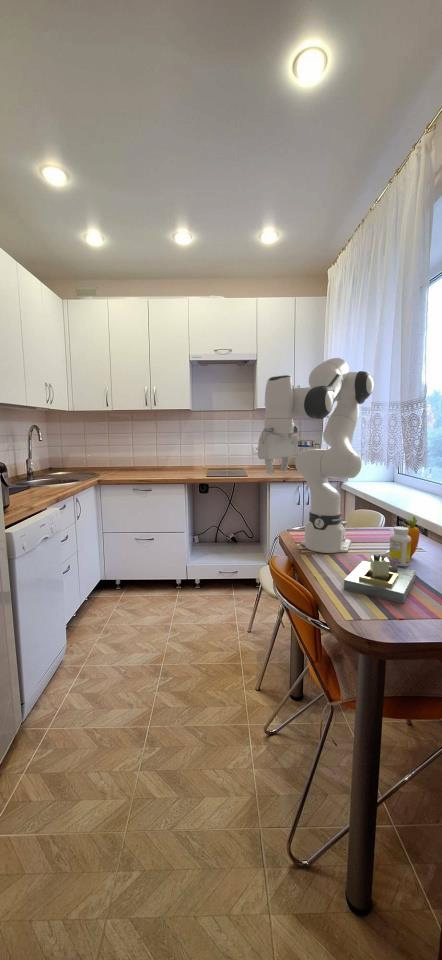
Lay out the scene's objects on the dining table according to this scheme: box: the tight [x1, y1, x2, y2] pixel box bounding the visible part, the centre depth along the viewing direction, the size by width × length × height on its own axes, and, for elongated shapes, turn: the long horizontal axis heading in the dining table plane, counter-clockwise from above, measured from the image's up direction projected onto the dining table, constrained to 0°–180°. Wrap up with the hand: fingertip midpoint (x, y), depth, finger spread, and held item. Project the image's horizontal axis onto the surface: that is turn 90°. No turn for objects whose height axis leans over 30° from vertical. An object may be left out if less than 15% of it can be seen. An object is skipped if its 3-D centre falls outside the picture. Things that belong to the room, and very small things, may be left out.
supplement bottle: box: [388, 526, 411, 567], centre depth 133 cm, size 7×7×13 cm
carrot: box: [405, 516, 421, 558], centre depth 139 cm, size 5×5×15 cm
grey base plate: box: [343, 560, 417, 604], centre depth 116 cm, size 22×16×4 cm
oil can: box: [369, 550, 391, 581], centre depth 112 cm, size 4×5×12 cm
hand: (277, 471), depth 121 cm, fingers open, 8 cm apart
